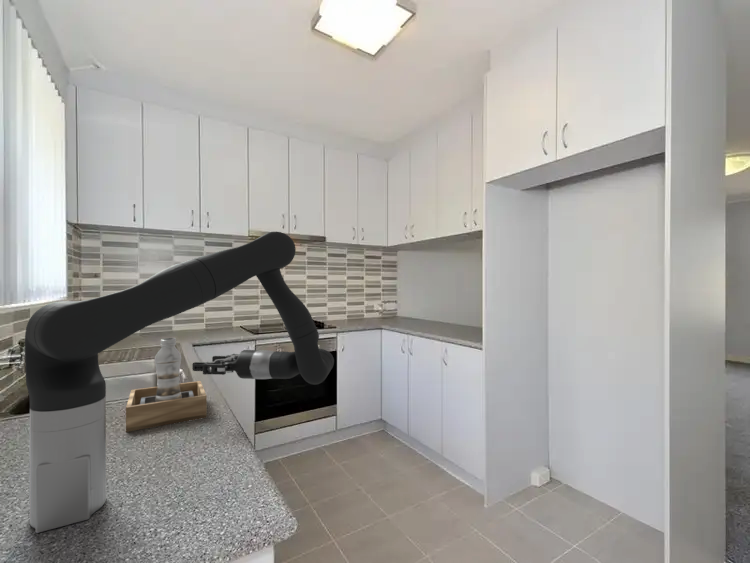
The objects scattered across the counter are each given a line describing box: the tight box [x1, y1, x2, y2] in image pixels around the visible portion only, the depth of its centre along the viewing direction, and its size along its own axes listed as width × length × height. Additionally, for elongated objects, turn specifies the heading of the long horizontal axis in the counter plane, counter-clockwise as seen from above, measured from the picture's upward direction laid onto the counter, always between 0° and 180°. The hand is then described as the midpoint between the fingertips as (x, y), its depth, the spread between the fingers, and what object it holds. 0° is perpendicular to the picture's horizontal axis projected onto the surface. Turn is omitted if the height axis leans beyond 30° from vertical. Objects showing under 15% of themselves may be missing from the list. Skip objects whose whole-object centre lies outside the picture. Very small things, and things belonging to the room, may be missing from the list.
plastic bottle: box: [154, 337, 182, 402], centre depth 100 cm, size 6×7×20 cm
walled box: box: [125, 380, 208, 433], centre depth 100 cm, size 18×18×6 cm
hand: (203, 363), depth 99 cm, fingers open, 8 cm apart
